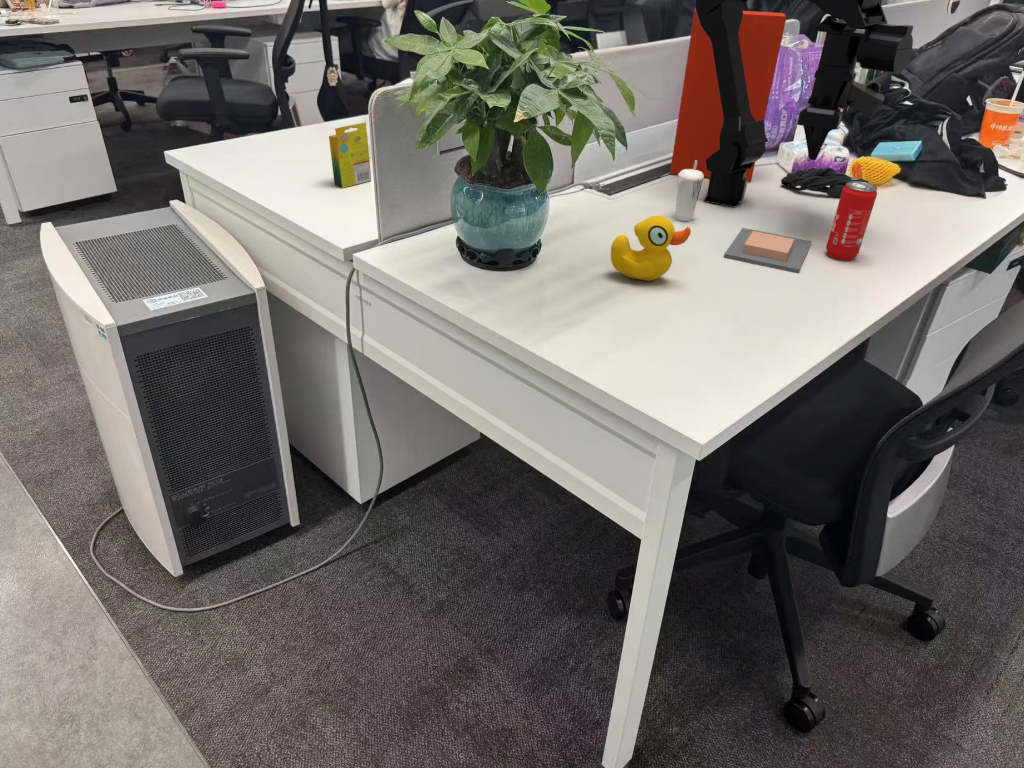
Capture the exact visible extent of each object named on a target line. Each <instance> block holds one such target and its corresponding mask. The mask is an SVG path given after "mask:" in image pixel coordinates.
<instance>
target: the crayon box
mask: <svg viewBox="0 0 1024 768" xmlns="http://www.w3.org/2000/svg"><path fill="white" fill-rule="evenodd" d="M350 129H355V130H351V131H348V130H350ZM334 130H335V134H332V135H329V136H328V141H329V148H330V156H331V157H330V158H331V164H332V165H331V167H332V174H333V182H334V186H336V187H339V188H341V189H346V188H348V187H351V186H355V185H359V184H363V183H367V182H372V173H371V162H370V161H371V160H370V153H369V141H368V132H367V123H366V122H360V123H356V124H352V125H351V124H350V125H346V126H340V127H336V128H334ZM346 131H347V132H346Z"/></svg>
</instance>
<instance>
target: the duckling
mask: <svg viewBox="0 0 1024 768" xmlns="http://www.w3.org/2000/svg"><path fill="white" fill-rule="evenodd" d="M633 230H634V234H635V236H636V237H637V241H638V243H639V244H640V245H641V247H642V249H641V250H636V249H633V248H631V245H630V241H629V238H628V237H627V235H625V234H619V235H618V236H616V237H615V239H614V240H613V241H612V243H611V246H610V260H611V264H612V266H613V267H614V269H615V270H616V271H617V272H619V273H621V274H622V275H624V276H626V277H628V278H631V279H633V280H634V279H635V280H640V281H647V282H649V281H651V282H652V281H654V280H657V279H659V278H661V276H663V275H665V274H666V273H667V272H668V271H669V270H670V268H671V266H672V264H673V258H672V255H671V253H670V251H669V250H668V247H669V246H679V245H683V244H684V243H685V242H687V241H688V239H689V237H690V236H691V233H692V231H691V228H690V226H686V227H685V228H684V229H682V230H678V231H675V227H674V224H673V222H672V221H671V220H670V219H669V218H667V217H665V216H662V215H652V216H650V217H647V218H646V219H644V220H641V221H639V222H637V223H636V224H635V225H634V229H633Z"/></svg>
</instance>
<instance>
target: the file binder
mask: <svg viewBox="0 0 1024 768" xmlns="http://www.w3.org/2000/svg"><path fill="white" fill-rule="evenodd" d="M786 21H787V16H786V14H785V12H772V11H757V10H756V11H753V10H752V11H751V10H743V17H742V21H741V24H740V28H739V32H738V35H739V42H740V48H741V55H742V61H743V67H744V74H745V80H746V87H747V93H748V100H749V106H750V112H751V114H752V116H753V117H754V119H755V120H756V121H760V120H764V121H765V118H766V115H767V110H768V104H769V99H770V95H771V92H772V91H771V90H772V87H773V81H774V76H775V72H776V67H777V62H778V60H779V59H778V58H779V53H780V48H781V45H782V40H783V36H784V31H785V25H786ZM688 46H689V47H688V52H687V58H686V65H685V71H684V77H683V78H684V79H683V85H682V91H681V97H680V104H679V109H678V110H679V112H678V117H677V124H676V131H675V137H674V145H673V149H672V156H671V163H670V170H669V175H675V176H676V175H677V176H678V174H679V173H680V172H681V171H682V170H684V169H693V167H694V163H695V161H698V162H697V166H696V170H698V171H701V172H702V173H703V175H704V178H709V179H710V175H711V171H708V170H707V166H706V159H707V158H708V157H710V156H711V155H712V154H714V153H715V152H716V151H718V150H719V149H720V142H719V137H720V133H721V129H722V126H723V122H724V117H723V111H722V104H721V98H720V92H719V86H718V80H717V74H716V68H715V62H714V56H713V50H712V44H711V40H710V39H709V37H708V36H707V34H706V33H705V31H704V30H703V29H702V27H701V25H700V22H699V19H698V16H697V13H696V9H695V8H694V13H693V20H692V25H691V31H690V40H689V45H688ZM755 165H756V162H755V163H754V165H753V167H752V168H751V169H746V170H747V172H746V177H745V178H747V179H748V182H752V179H753V173H754V170H755ZM748 182H747V183H748Z"/></svg>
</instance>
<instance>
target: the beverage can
mask: <svg viewBox="0 0 1024 768" xmlns="http://www.w3.org/2000/svg"><path fill="white" fill-rule="evenodd" d="M877 190H878V187H877V185H874V184H873V183H870V182H869V183H865V182H857V181H852V182H847V183H846V186H845V187H844V188H843V190H842V193H841V197H840V198H839V200H838V204H837V207H836V211H835V213H834V218H833V222H832V225H831V228H830V232H829V234H828V238H827V241H826V245H825V250H826V255H827V257H829V258H831V259H834V260H837V261H842V262H850V261H853V260H854V259H855V257H857V256H858V255H859V253H860V250H861V249H860V248H861V247H862V243H863V240H864V237H865V235H866V230H867V227H868V224H869V222H870V217H871V215H872V212H873V208H874V207H875V203H876V199H877V195H878V191H877Z"/></svg>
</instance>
